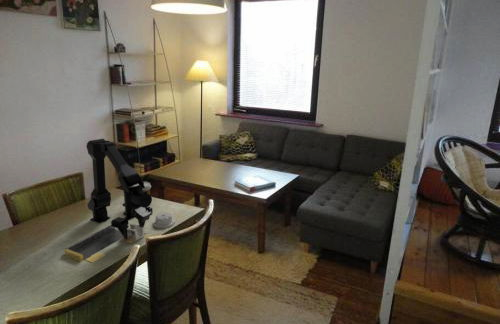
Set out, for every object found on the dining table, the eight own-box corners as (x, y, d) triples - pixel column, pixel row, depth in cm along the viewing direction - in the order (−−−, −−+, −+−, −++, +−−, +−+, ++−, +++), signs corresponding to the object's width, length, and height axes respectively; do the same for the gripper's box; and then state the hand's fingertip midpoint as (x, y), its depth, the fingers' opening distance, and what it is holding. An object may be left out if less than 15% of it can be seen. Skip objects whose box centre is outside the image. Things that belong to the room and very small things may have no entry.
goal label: (85, 260, 135) (85, 259, 135) (98, 252, 140) (98, 252, 140) (92, 262, 133) (92, 262, 133) (105, 255, 139) (105, 255, 138)
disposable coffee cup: (136, 202, 190) (135, 181, 186) (154, 202, 190) (153, 181, 186) (130, 209, 181) (128, 187, 177) (149, 210, 180) (147, 188, 177)
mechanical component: (149, 227, 163) (169, 230, 161) (148, 218, 161) (169, 221, 160) (159, 218, 172) (178, 220, 170) (158, 210, 171) (177, 212, 169)
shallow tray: (62, 254, 138) (62, 249, 138) (113, 228, 160) (112, 224, 159) (80, 261, 134) (80, 256, 133) (130, 234, 155) (129, 229, 155)
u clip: (123, 237, 152) (123, 227, 151) (132, 232, 157) (131, 223, 155) (136, 241, 149) (135, 231, 148) (144, 236, 154) (143, 226, 152)
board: (120, 240, 150) (120, 240, 150) (137, 230, 159) (137, 230, 159) (130, 243, 148) (130, 243, 148) (147, 234, 156) (147, 233, 156)
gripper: (129, 213, 137) (131, 248, 141) (161, 197, 153) (162, 230, 157) (108, 207, 142) (111, 242, 146) (141, 192, 158) (143, 224, 162)
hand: (134, 234), depth 153 cm, fingers open, 9 cm apart
